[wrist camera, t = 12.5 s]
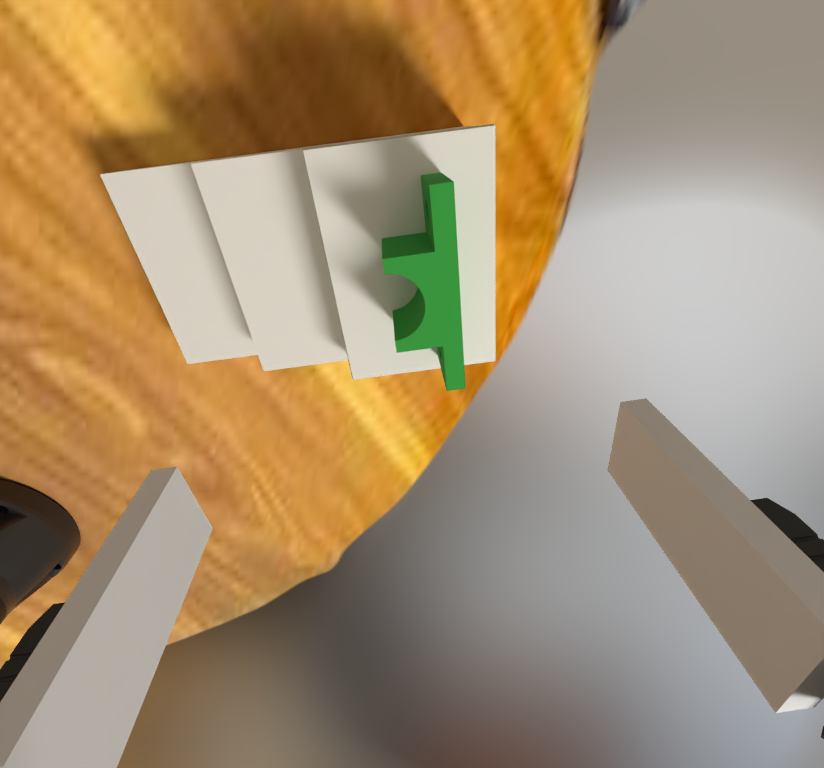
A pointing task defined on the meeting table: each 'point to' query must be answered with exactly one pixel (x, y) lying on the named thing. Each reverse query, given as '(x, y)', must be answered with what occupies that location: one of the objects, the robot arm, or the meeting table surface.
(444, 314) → the pipe clamp
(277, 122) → the meeting table surface
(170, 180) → the stepped riser
